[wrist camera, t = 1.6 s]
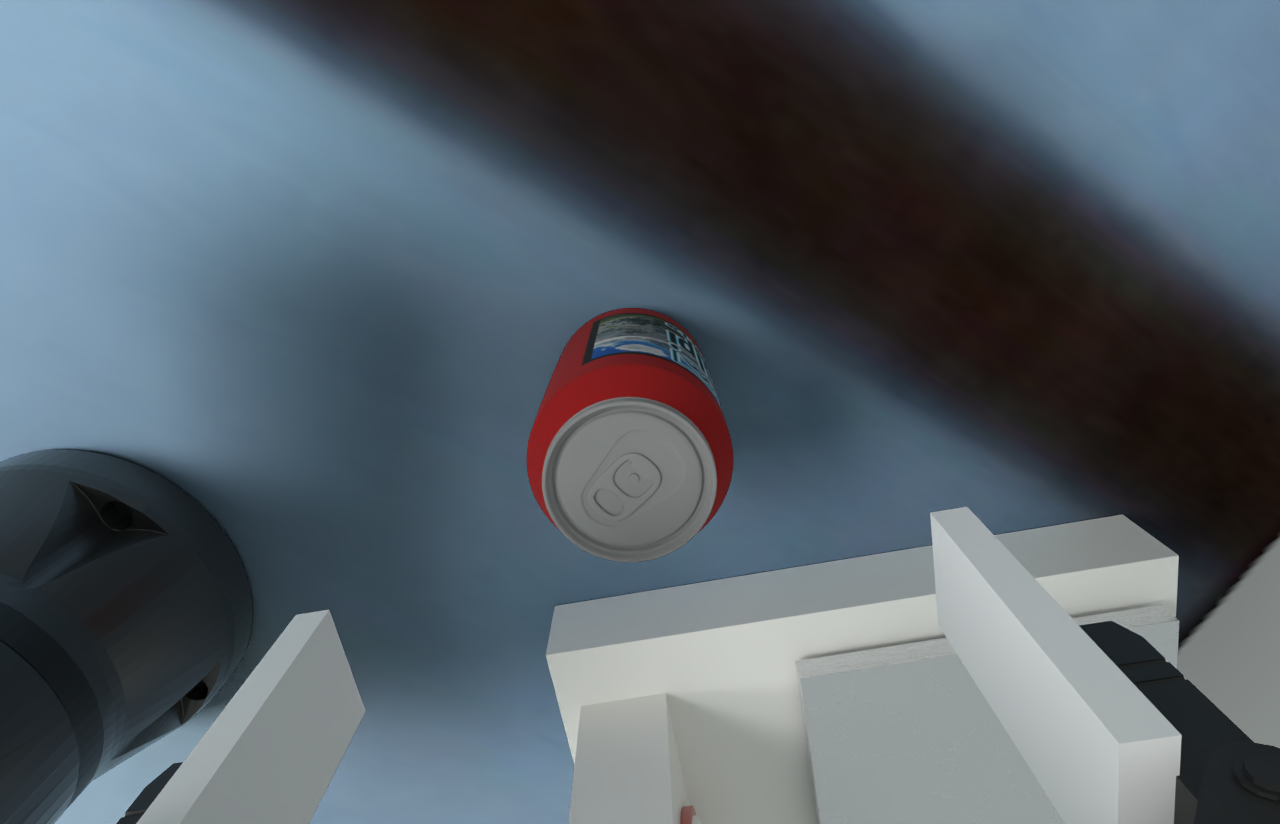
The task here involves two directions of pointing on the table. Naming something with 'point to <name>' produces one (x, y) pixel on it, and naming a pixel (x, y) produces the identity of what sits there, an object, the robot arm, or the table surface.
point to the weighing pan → (926, 735)
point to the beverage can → (630, 439)
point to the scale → (776, 667)
